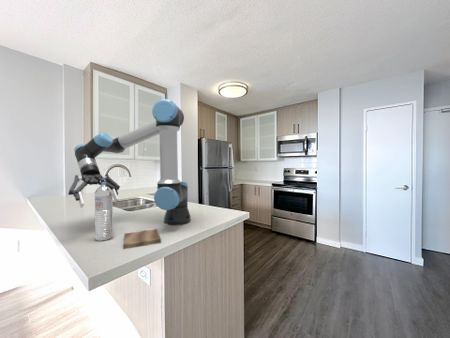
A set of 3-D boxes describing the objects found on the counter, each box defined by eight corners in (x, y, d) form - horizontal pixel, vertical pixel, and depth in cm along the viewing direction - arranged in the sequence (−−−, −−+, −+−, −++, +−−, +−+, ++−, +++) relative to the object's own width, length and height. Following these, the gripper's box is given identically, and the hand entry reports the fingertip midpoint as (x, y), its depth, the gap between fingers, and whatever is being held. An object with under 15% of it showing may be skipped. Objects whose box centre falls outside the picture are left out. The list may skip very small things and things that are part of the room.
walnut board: (156, 232, 93) (156, 229, 93) (160, 242, 81) (160, 239, 81) (124, 236, 87) (124, 233, 87) (123, 248, 75) (123, 245, 75)
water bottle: (115, 238, 86) (114, 182, 85) (97, 242, 81) (97, 183, 80) (110, 234, 90) (109, 181, 90) (93, 238, 85) (92, 182, 85)
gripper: (114, 173, 107) (126, 203, 97) (55, 175, 87) (63, 213, 78) (118, 164, 103) (131, 194, 94) (57, 163, 84) (66, 202, 75)
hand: (100, 203), depth 86 cm, fingers open, 13 cm apart
